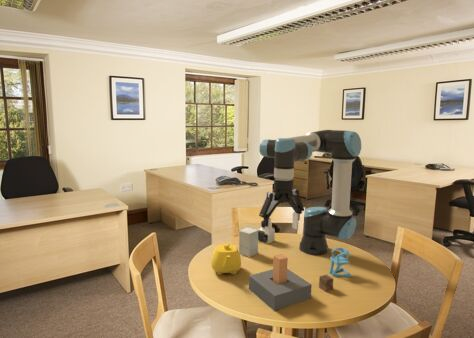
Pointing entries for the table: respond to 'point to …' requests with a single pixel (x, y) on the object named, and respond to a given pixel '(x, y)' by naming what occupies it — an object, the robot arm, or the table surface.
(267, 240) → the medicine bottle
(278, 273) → the tall pin
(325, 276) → the short pin
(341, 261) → the blue tall openwork piece
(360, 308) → the table surface
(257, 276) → the hole block
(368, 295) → the table surface
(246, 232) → the supplement box
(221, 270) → the teapot
